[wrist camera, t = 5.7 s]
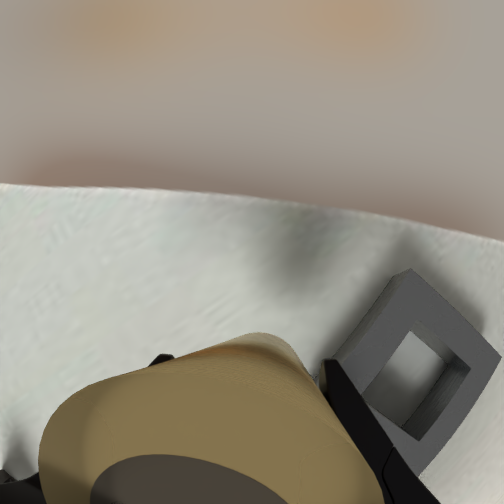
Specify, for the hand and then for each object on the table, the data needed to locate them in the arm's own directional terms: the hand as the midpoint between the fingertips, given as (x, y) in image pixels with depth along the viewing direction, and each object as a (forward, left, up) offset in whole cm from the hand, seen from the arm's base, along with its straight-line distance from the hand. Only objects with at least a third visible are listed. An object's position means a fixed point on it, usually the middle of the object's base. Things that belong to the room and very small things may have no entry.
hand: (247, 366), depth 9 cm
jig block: (-10, -4, -13) cm, 18 cm away
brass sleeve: (-1, +1, -7) cm, 7 cm away
